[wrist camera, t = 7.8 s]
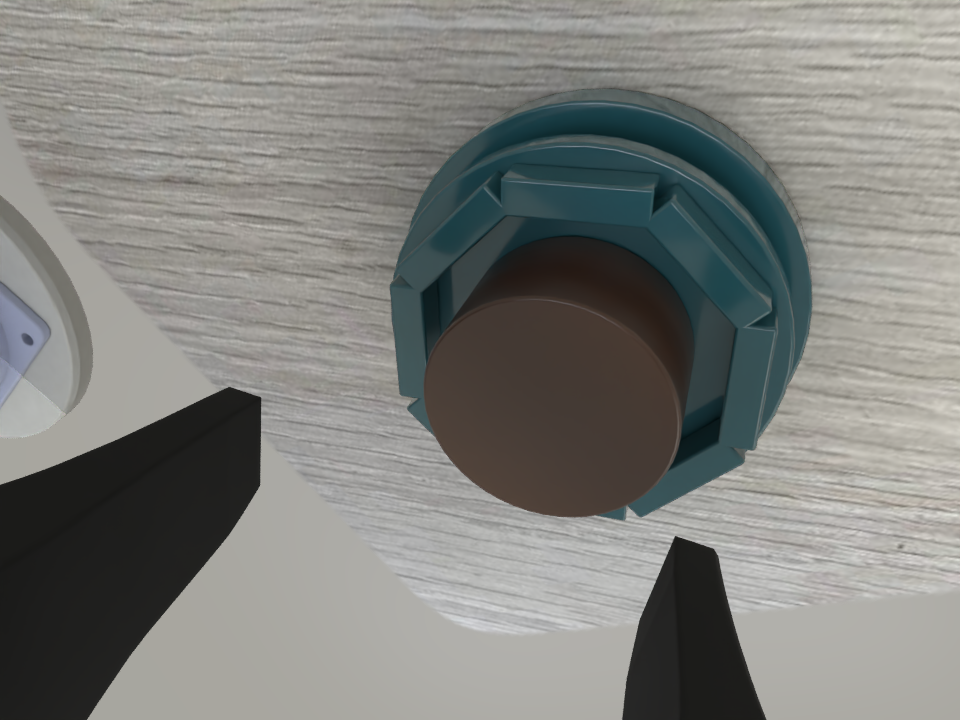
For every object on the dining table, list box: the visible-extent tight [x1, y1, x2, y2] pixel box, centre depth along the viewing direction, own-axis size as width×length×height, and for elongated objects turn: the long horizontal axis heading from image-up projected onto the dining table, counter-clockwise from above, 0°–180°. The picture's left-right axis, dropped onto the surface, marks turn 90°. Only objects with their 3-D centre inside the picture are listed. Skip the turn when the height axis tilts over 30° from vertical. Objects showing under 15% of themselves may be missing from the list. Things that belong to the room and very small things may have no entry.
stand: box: [390, 89, 812, 520], centre depth 19 cm, size 10×10×4 cm
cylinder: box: [424, 236, 694, 517], centre depth 17 cm, size 5×5×3 cm
